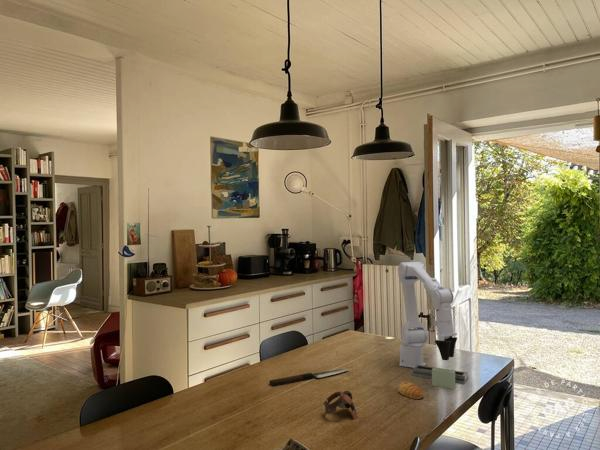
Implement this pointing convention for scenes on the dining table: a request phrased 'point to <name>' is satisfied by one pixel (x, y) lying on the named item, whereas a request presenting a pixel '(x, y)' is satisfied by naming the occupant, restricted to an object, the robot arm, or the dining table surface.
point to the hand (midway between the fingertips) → (448, 358)
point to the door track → (427, 371)
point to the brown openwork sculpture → (340, 402)
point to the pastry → (410, 390)
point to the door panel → (443, 378)
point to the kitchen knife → (303, 377)
